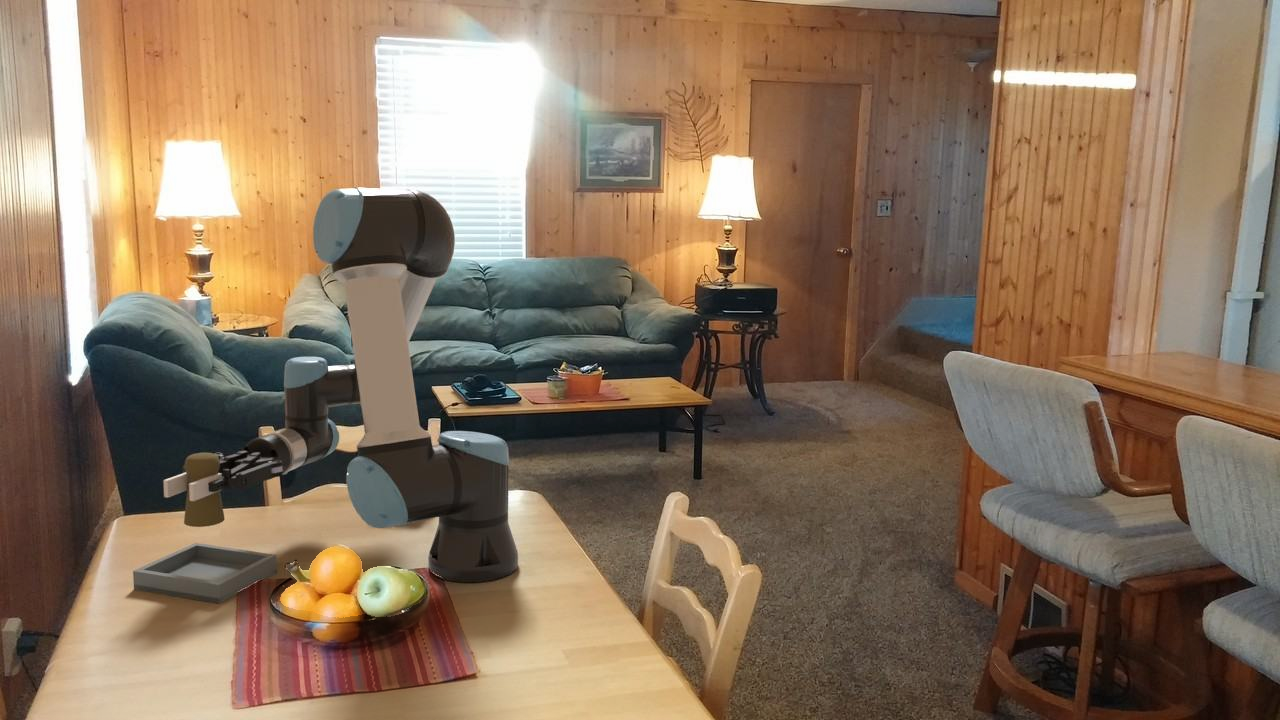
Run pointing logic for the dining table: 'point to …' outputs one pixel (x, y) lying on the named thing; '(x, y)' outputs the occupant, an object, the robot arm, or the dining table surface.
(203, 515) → the cork
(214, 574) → the tray
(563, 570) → the dining table surface
